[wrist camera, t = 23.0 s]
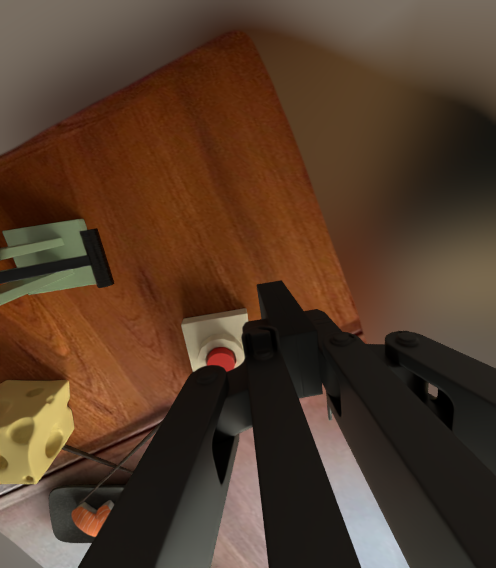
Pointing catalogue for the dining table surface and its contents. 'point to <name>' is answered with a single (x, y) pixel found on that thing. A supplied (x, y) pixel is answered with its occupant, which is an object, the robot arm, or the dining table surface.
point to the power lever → (69, 263)
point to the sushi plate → (86, 502)
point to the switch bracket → (45, 257)
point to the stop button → (221, 358)
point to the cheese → (32, 428)
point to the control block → (214, 335)
